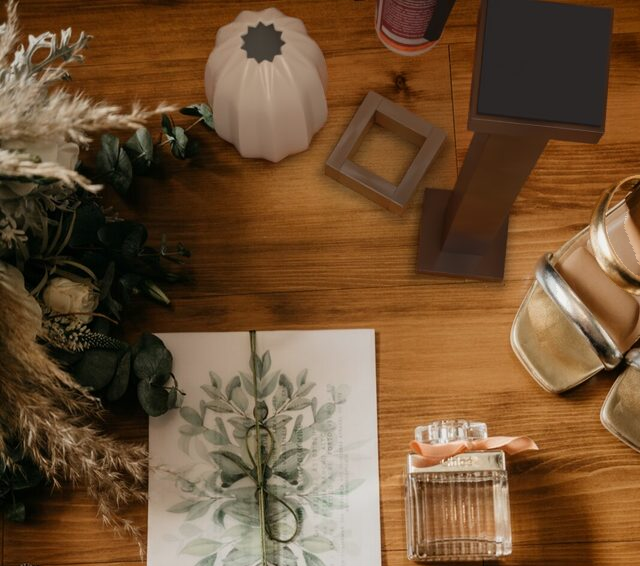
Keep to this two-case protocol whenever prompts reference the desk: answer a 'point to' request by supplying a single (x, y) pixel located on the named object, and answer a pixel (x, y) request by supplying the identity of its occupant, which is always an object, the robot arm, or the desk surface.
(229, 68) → the vase
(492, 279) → the plant stand
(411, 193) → the stand
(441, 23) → the robot arm
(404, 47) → the pill bottle
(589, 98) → the mat
